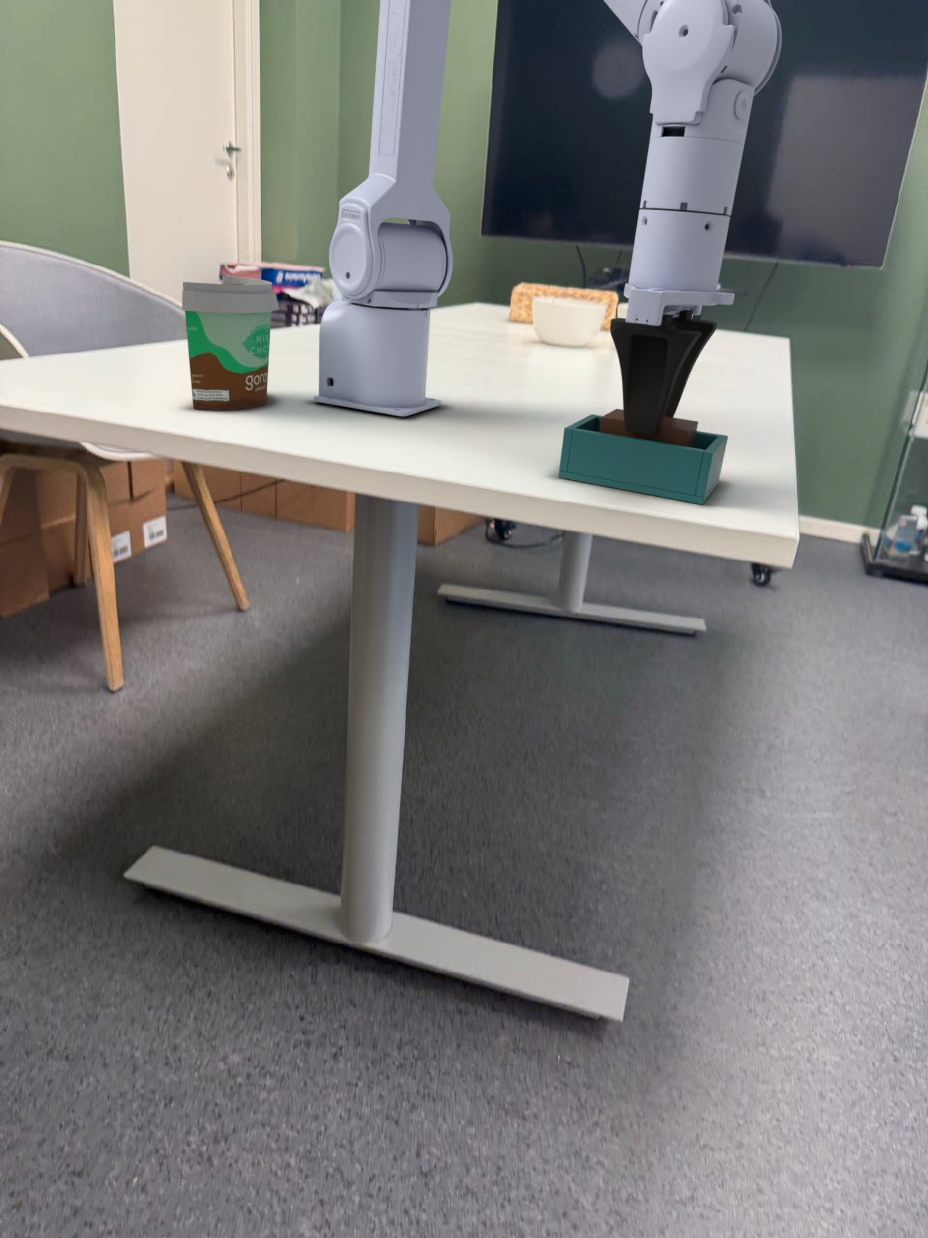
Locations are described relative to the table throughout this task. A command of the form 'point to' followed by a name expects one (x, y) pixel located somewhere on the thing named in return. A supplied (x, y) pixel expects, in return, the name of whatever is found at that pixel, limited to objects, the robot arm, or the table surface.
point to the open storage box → (642, 462)
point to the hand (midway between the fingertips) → (648, 427)
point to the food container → (229, 341)
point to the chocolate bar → (668, 432)
